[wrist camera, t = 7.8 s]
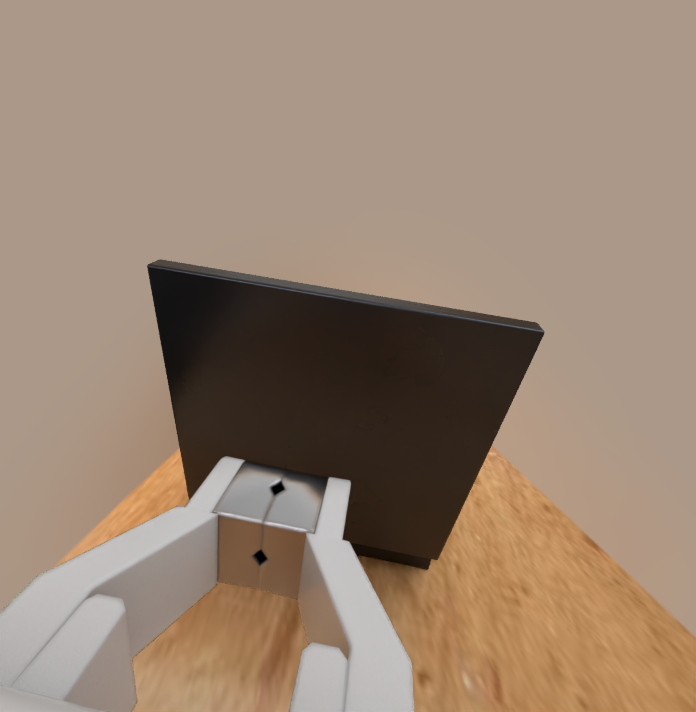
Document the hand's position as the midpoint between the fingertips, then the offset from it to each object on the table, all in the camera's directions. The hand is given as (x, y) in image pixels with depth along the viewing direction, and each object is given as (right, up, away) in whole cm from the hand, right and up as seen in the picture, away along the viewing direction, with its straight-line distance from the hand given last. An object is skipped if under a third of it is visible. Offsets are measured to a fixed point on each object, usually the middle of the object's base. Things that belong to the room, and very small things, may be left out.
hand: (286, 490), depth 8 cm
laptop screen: (0, 0, +8) cm, 8 cm away
